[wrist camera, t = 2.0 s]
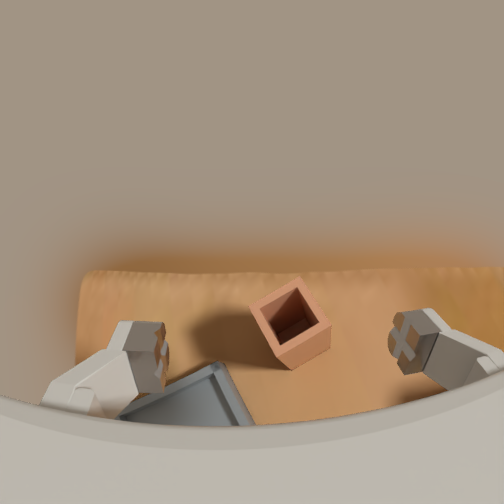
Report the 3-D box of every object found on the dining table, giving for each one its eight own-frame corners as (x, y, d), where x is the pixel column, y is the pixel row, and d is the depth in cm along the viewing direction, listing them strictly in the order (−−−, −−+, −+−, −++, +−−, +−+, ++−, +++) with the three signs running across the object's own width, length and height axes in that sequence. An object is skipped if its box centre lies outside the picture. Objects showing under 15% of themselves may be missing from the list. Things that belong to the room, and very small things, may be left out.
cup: (330, 347, 33) (331, 325, 24) (291, 370, 33) (276, 357, 23) (308, 312, 36) (299, 276, 26) (270, 333, 35) (248, 305, 26)
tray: (279, 466, 28) (275, 471, 26) (164, 505, 27) (154, 510, 25) (224, 363, 35) (217, 360, 33) (122, 411, 34) (110, 411, 32)
